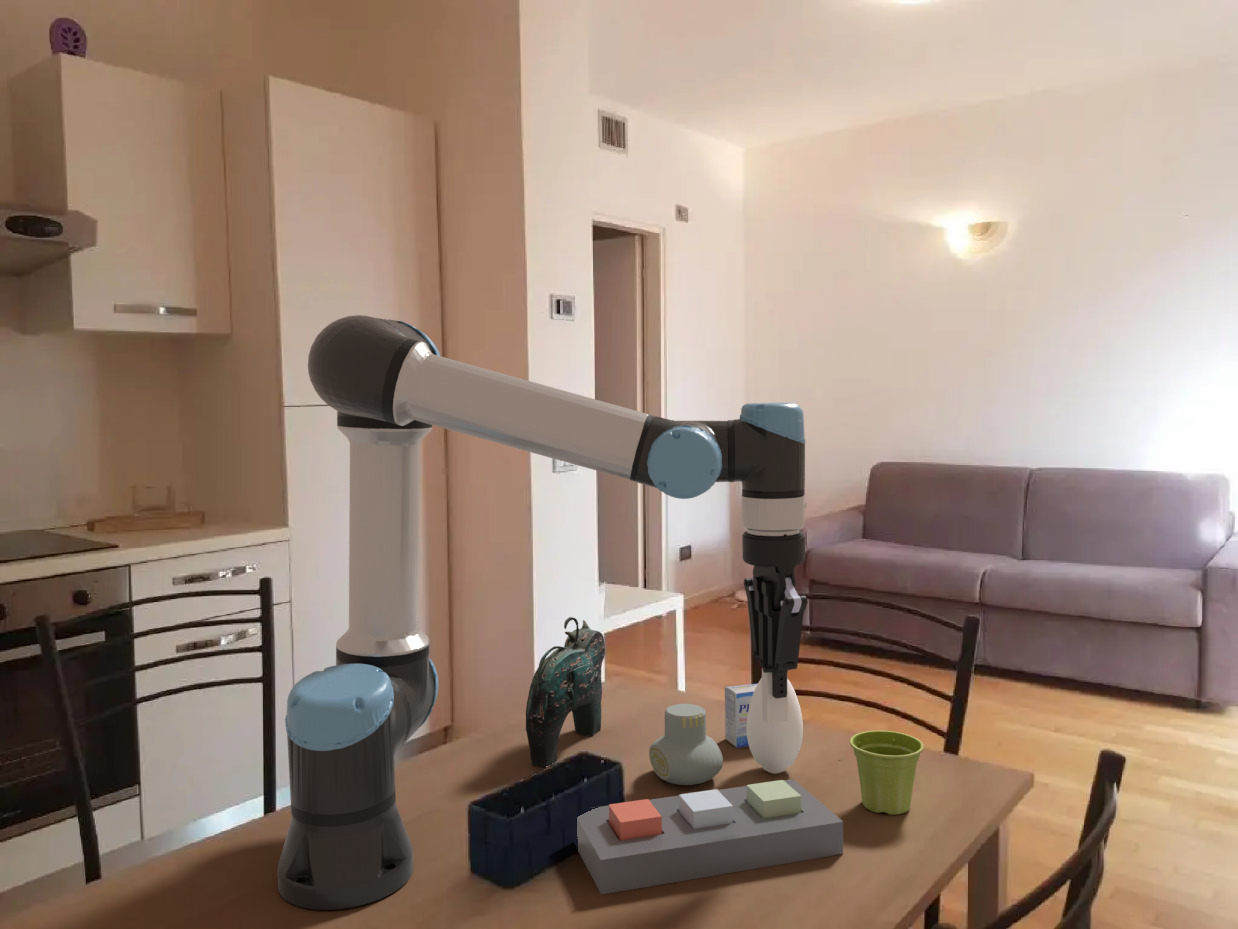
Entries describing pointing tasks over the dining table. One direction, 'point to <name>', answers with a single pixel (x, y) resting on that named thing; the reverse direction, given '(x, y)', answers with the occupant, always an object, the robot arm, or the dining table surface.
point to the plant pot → (886, 769)
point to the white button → (705, 809)
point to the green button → (773, 799)
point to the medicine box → (737, 713)
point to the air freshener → (685, 748)
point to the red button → (634, 819)
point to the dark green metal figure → (565, 692)
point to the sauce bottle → (774, 733)
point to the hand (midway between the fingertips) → (774, 720)
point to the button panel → (706, 843)
